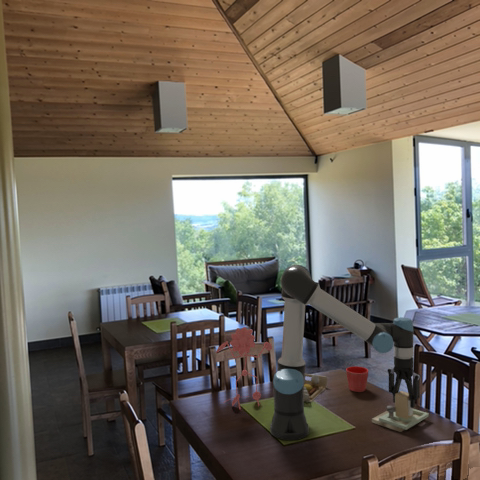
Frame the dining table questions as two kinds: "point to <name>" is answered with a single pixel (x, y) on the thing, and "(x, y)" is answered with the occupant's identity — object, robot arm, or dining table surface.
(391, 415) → the board
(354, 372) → the flower pot
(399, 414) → the upright block on base
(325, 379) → the toy food set
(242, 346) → the pink tall branching figurine
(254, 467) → the dining table surface
